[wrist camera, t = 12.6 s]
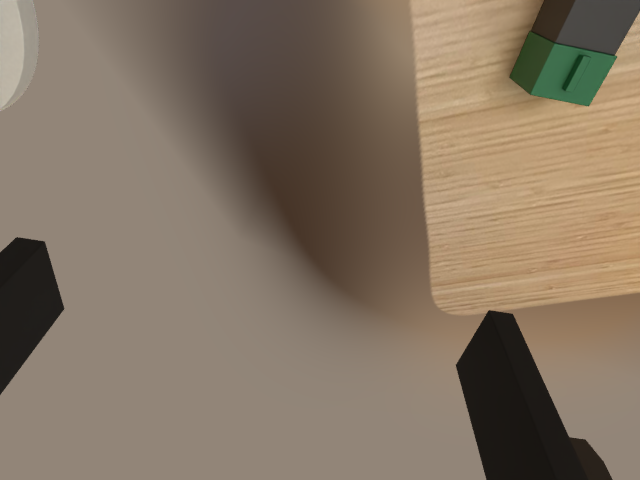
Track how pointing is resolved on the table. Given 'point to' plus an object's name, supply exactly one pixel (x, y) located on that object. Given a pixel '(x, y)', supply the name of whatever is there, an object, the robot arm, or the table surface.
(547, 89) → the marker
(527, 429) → the robot arm
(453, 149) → the table surface
